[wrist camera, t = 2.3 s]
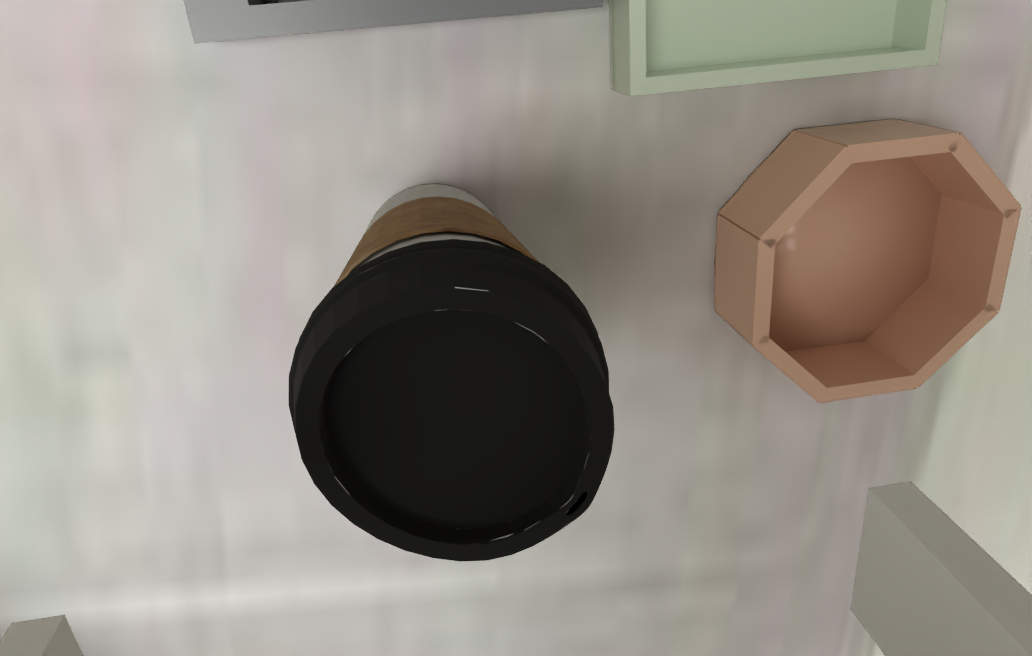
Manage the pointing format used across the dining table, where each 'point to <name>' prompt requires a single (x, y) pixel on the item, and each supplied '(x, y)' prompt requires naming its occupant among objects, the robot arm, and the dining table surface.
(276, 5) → the frame
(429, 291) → the coffee cup
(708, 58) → the green square tray
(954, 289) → the bin
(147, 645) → the dining table surface
